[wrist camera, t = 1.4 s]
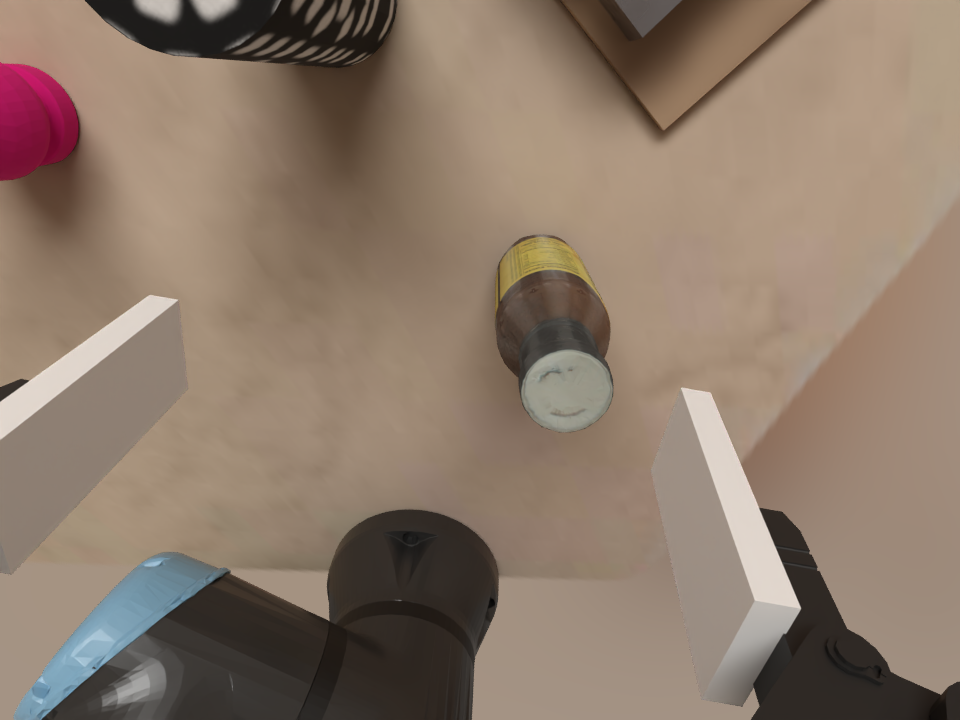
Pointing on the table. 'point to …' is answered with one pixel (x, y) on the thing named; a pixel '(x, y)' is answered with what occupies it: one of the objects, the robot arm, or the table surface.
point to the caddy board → (683, 47)
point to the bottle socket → (637, 14)
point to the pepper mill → (33, 121)
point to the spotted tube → (255, 28)
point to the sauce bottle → (553, 333)
